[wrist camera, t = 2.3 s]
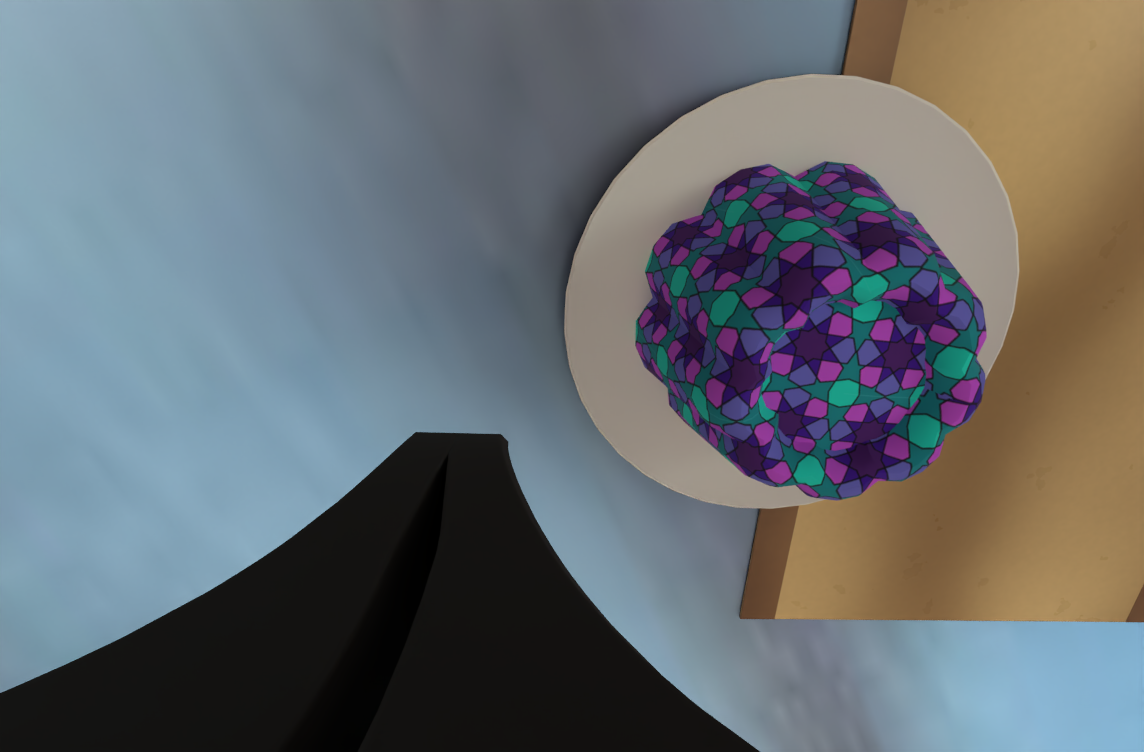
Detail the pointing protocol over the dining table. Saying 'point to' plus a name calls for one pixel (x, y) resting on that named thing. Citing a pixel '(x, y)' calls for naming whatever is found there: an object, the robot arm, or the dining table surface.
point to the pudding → (793, 293)
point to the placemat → (1010, 342)
